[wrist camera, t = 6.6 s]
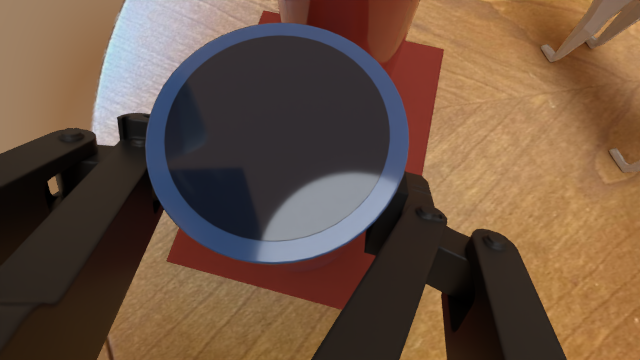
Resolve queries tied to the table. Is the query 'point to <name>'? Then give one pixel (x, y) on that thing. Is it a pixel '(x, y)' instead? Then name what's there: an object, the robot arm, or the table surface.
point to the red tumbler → (358, 23)
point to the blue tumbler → (277, 145)
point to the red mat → (349, 268)
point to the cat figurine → (601, 41)
